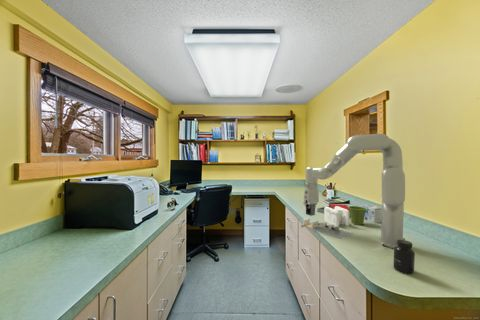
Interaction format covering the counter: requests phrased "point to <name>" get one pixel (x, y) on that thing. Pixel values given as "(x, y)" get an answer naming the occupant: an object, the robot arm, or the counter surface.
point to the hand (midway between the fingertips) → (310, 213)
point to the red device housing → (339, 206)
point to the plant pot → (357, 214)
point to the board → (325, 228)
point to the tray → (323, 210)
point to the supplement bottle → (404, 257)
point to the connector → (312, 209)
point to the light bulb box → (373, 213)
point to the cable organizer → (336, 216)
